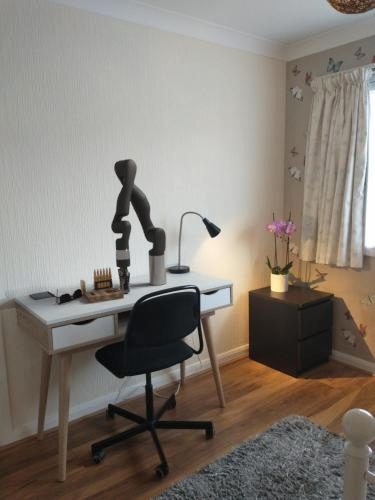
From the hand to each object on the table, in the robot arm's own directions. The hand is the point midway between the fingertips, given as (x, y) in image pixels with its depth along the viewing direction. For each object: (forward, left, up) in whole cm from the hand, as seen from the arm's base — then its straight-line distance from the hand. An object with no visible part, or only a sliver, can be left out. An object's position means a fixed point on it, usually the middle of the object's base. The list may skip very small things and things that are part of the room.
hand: (124, 288), depth 219 cm
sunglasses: (+32, -5, -3) cm, 32 cm away
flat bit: (+21, -7, -2) cm, 22 cm away
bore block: (+13, +4, -2) cm, 14 cm away
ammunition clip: (+8, -15, -3) cm, 17 cm away
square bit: (0, 0, -2) cm, 2 cm away
